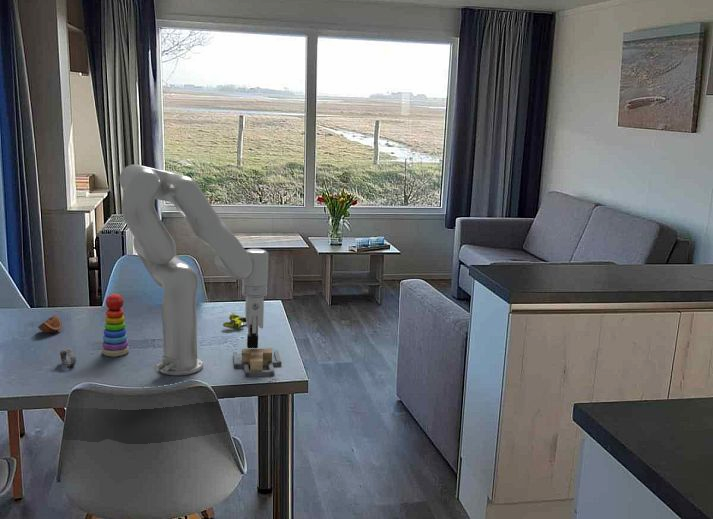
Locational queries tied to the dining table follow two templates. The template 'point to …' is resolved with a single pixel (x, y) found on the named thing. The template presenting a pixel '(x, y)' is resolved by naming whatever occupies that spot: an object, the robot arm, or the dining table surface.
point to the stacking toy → (115, 328)
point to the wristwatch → (70, 354)
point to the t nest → (258, 373)
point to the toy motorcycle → (235, 321)
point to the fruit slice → (51, 325)
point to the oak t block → (257, 358)
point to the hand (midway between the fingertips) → (252, 347)
